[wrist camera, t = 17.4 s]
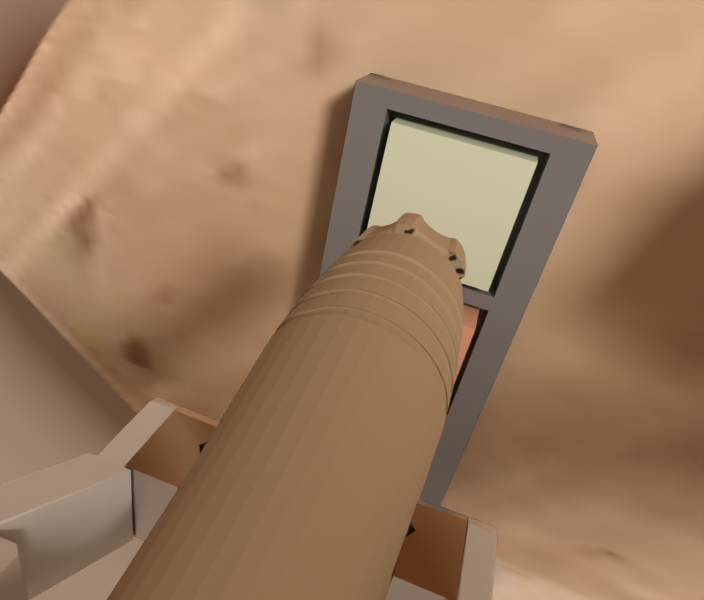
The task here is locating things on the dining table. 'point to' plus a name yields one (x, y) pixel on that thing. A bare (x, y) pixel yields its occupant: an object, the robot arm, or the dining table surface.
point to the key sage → (455, 188)
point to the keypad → (520, 251)
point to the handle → (321, 437)
